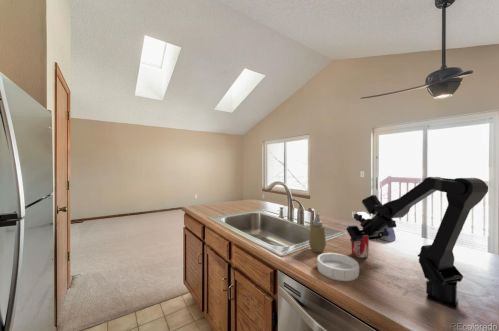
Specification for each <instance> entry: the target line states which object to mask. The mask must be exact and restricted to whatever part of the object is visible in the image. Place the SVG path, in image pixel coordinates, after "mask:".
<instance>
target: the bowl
mask: <svg viewBox="0 0 499 331" xmlns="http://www.w3.org/2000/svg"><path fill="white" fill-rule="evenodd" d="M316 263H317V264H316V267H317V270H318V272H319V274H321V275H323V277H326V278H329V279H331V280H334V281H338V282H339V281H340V282H352V281H355V280H357V279H358V278H359V275H360V265H359V262H358V261H357V260H356V259H354V258H353V257H351V256H349V255H346V254H342V253H336V252H324V253H323V252H321V254H320V253H319V255H317V262H316Z"/></svg>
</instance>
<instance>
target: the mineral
mask: <svg viewBox="0 0 499 331" xmlns="http://www.w3.org/2000/svg"><path fill="white" fill-rule="evenodd" d="M386 230H387V231H388V233H389V236H388V237H386V238H381V239H380V240H383V241H386V242H387V243H392V242H394V241H395V240H396V232H395V229H394V228H389V227H388V226H387V227H386ZM380 234H381V233H380Z"/></svg>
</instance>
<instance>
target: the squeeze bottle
mask: <svg viewBox="0 0 499 331" xmlns="http://www.w3.org/2000/svg"><path fill="white" fill-rule="evenodd" d="M308 242H309V243H308V244H309V246H310V250H311V251H312V252H315V253H323V252H325V248H326V246H327V241H326V230H325V226H324V225H323V221H322V220H321V218H320V214H319V213H316V214H315V219H314V220H312V224H311V225H310V230H309V238H308Z"/></svg>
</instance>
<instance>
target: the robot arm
mask: <svg viewBox="0 0 499 331" xmlns="http://www.w3.org/2000/svg"><path fill="white" fill-rule="evenodd" d="M437 191H438V192H441V193H442V192H443V193H445V194H446V196H445V197H446V200H447V207H446V209H445V211H444V214H443V217H442V219H441V222H440V224H439V226H438V229H437V231H436V234H435V237H434V239H433V241H432V243H431V244H425V245H421V247H420V252H419V253H418V254H417V257H418V263H419V264H420V267H421V270H422V272H423V275H424V279H426V283H425V284H426V285H425V286H426V287H425V288H426V292H425V293H426V294H427V296H426V298H427V299H428V300H431V301H433V302H436V303H439V304H441V305H444V306H447V307H449V308H452V309H455V310H456V309H457V306H458V301H459V298H458V282H459V283H461V282H462V280H463V278H464V275H463V274H462V273H461V272H460V270H458V269H457V267H456V266H455V256H454V248H455V246H456V244H457V241H458V239H459V237H460V235H461V232H462V229H463V228H464V226H465V223H466V220H467V219H468V216H469V214H470V212H471V210H473V208H474V207H475V206H476V205H479V203H481V201H482V200H483V199H484V198H485V196H486V195H487V194H488V192H489V185H487V183H486V182H485V181H484V180H483V179H481V178H478V177H457V178H446V177H445V178H444V177H441V176H428V177H425V178H424V179H423V180H422V181H421V182H420V183H418V184H417V185H415V186H414V187H412V188H411V189H410V190H408V191H407V192H406V193H404V194H402V196H400V197H399V198H396V199H393V200H390V201H388V202H385V203H383V204H382V202H381V201H380V199H378V196H377V195H376V194H371V195H370V196H368V197H366V198H363V199H362V200H361V205H363V207H364V208H365V209H366V211H367V212H366V211H358V212H356V213H354V214H353V219H354V220H355V221H357V222H359V223H360V224H359V225H360V226H361V229H363V230H359V228H360V227H359V226H357V225H348V226H347V227H346V228H345V229H346V231H347V233H348V235H349V237H350V242H356V241H362V239H363V236H368V237H369V241H372V240H379V239H380V240H382V239H381V238H386V237H388V236H389V233H388V231H387V230H386V227H387V226H388V227H389V228H393V229H394V228H397V223H396V222H397V221H396V220H395V219H400V218H401V219H402V218H404V217H405V216H406V215H407V214H408V213H409V212H410V211H411V210H410V209H411V208H412V207H414V205H417V204H418V203H419V202H420V203H421V201H423V200H424V199H426V198H427V197H429V196H430V195H432V194H433V193H435V192H437ZM371 215H373V217H372V216H371ZM380 233H381V234H380Z"/></svg>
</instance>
